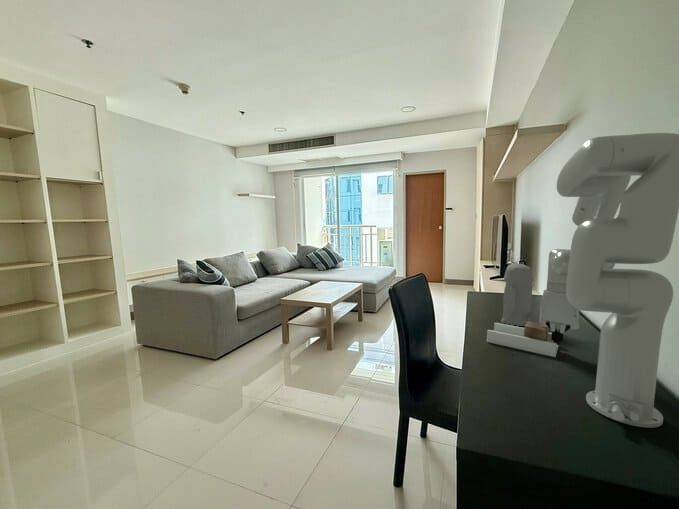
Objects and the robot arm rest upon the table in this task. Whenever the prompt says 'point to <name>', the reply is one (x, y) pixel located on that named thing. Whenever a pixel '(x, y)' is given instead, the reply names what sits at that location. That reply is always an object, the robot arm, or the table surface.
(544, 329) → the walnut block
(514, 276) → the unidentifiable
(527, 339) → the chute
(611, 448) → the table surface
